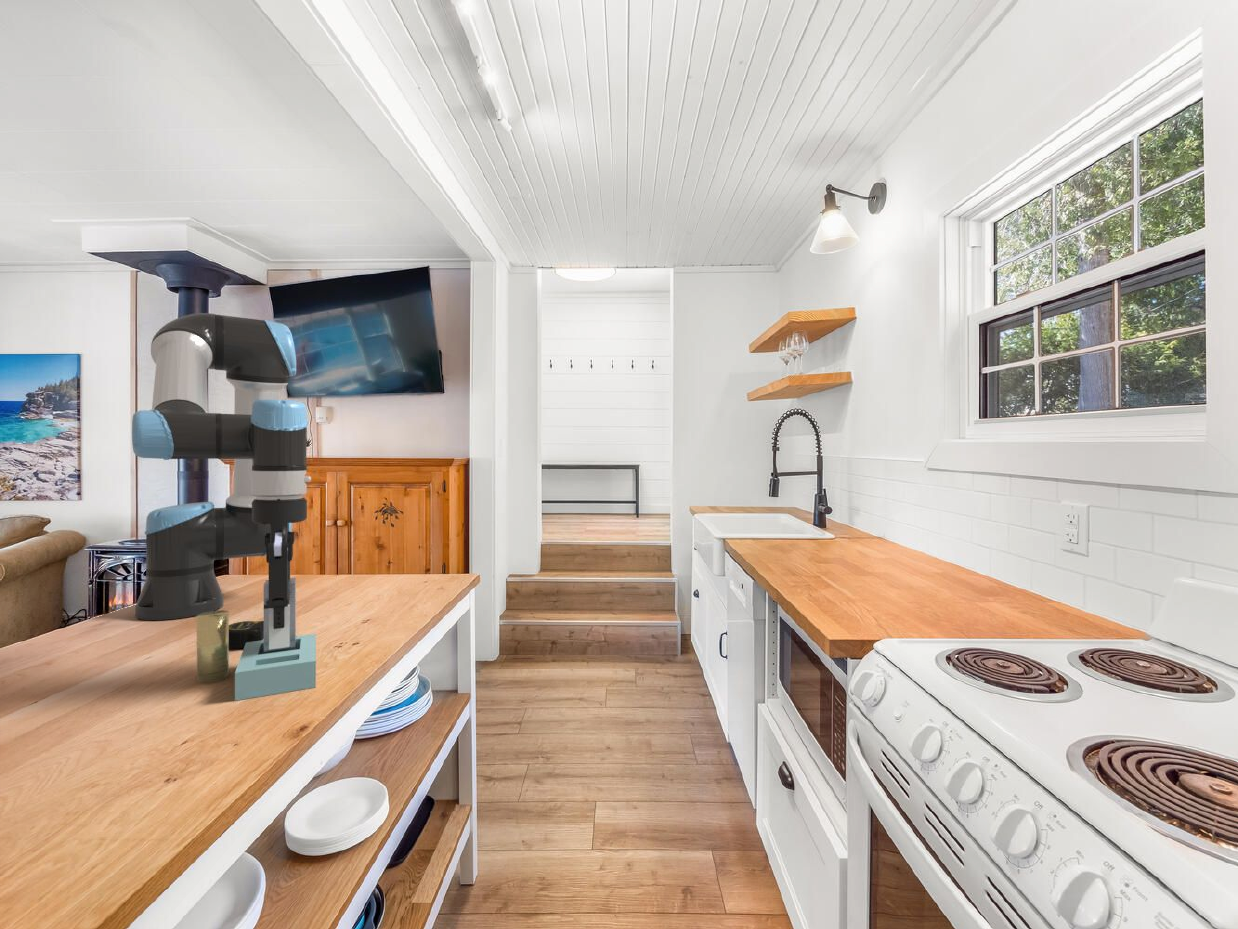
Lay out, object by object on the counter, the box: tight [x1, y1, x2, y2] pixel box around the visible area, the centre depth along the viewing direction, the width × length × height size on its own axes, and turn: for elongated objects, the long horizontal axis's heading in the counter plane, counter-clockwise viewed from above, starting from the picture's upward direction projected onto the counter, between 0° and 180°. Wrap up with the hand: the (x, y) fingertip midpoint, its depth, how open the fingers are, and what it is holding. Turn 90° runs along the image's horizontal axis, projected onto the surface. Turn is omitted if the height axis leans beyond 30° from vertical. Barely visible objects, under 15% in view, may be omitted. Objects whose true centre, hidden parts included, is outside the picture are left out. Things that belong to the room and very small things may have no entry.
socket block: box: [234, 633, 317, 702], centre depth 87 cm, size 14×10×4 cm
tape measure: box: [229, 620, 264, 649], centre depth 101 cm, size 7×7×4 cm
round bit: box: [196, 609, 230, 684], centre depth 86 cm, size 4×4×10 cm
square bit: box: [263, 577, 297, 654], centre depth 89 cm, size 4×4×12 cm
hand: (280, 642), depth 89 cm, fingers closed on square bit, 4 cm apart
